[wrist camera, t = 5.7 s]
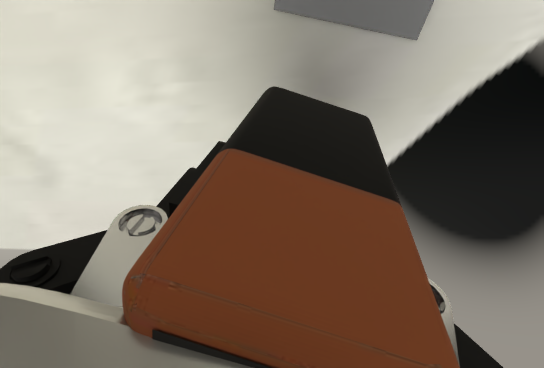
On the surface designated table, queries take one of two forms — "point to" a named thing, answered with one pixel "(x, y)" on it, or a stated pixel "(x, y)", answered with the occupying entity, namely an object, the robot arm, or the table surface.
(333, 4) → the mat
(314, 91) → the table surface
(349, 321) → the battery
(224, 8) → the table surface
